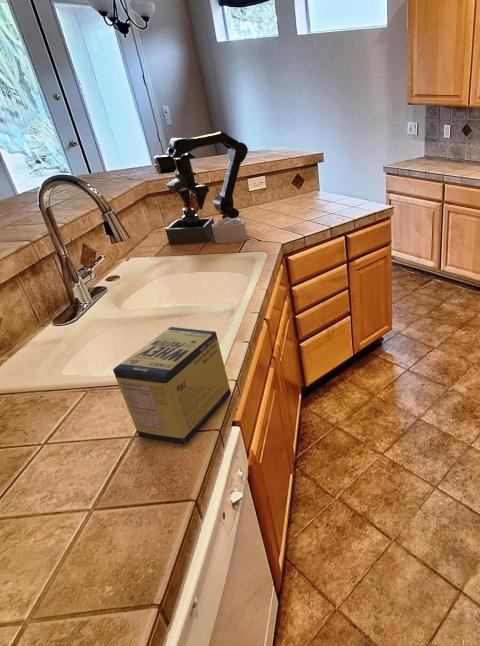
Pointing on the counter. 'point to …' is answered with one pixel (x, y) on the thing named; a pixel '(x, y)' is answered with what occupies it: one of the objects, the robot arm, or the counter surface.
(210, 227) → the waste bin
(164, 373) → the protein box
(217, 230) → the white rounded block
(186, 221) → the supplement bottle
